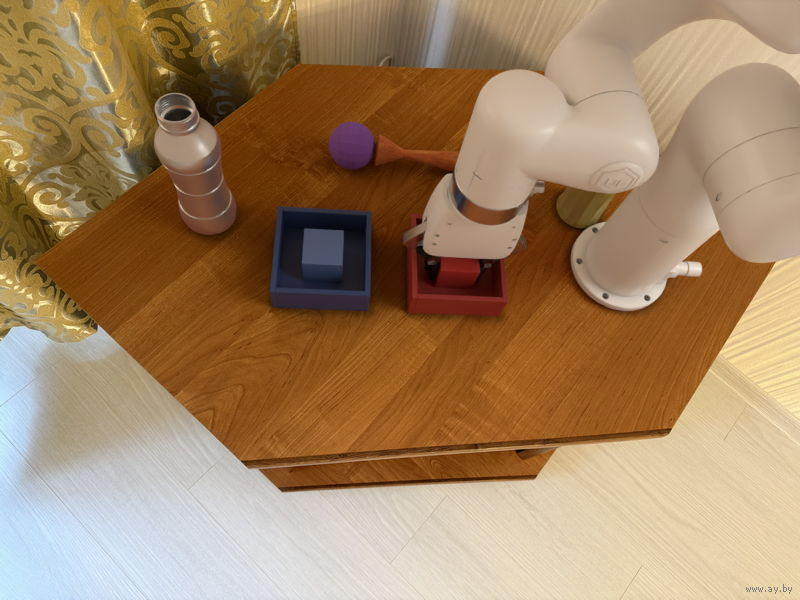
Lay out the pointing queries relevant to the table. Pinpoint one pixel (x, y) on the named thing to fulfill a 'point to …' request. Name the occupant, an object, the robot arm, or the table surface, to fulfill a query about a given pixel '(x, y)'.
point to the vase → (582, 206)
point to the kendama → (379, 149)
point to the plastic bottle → (193, 165)
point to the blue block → (322, 255)
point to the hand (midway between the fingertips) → (452, 270)
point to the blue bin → (288, 260)
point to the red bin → (457, 301)
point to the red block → (457, 272)
